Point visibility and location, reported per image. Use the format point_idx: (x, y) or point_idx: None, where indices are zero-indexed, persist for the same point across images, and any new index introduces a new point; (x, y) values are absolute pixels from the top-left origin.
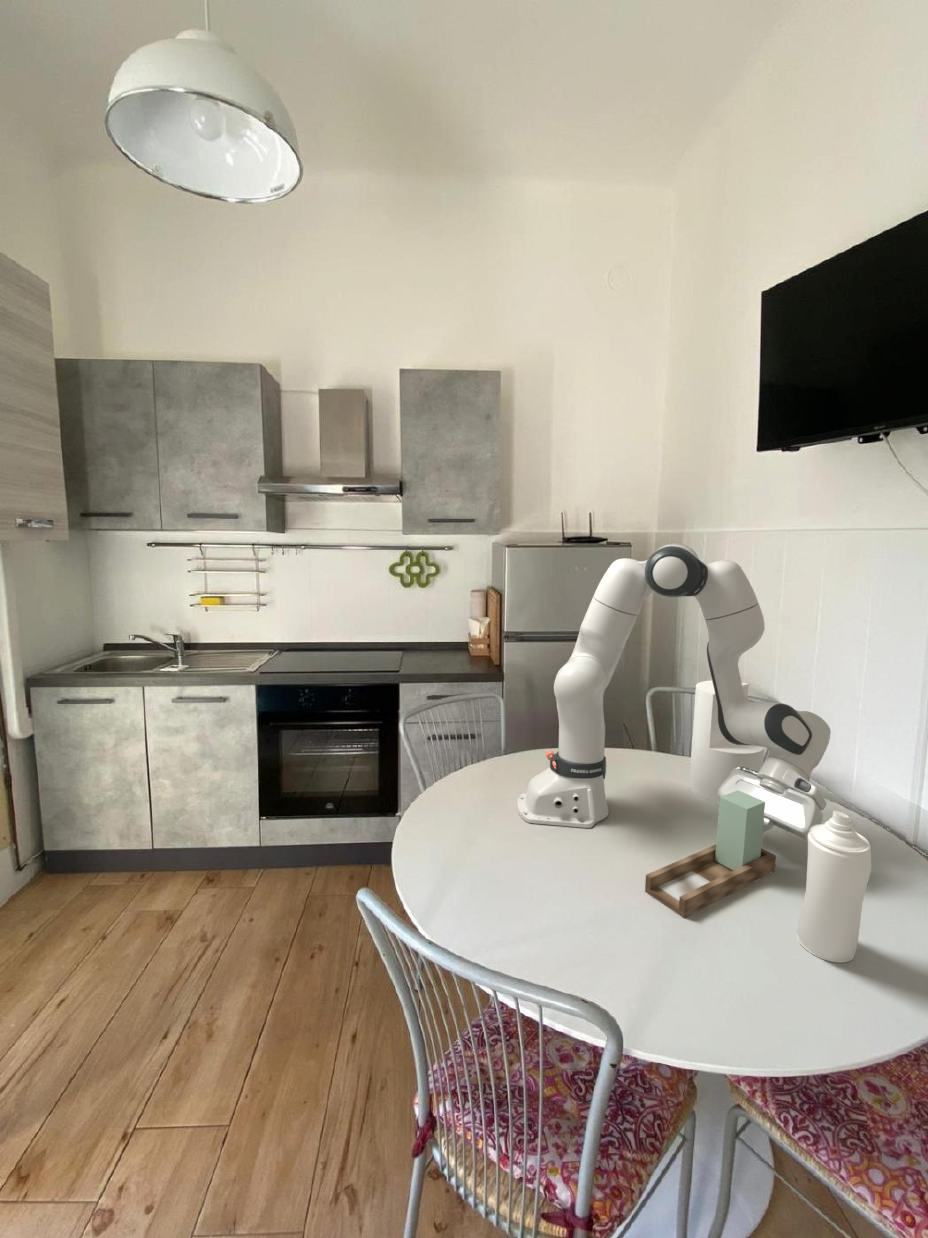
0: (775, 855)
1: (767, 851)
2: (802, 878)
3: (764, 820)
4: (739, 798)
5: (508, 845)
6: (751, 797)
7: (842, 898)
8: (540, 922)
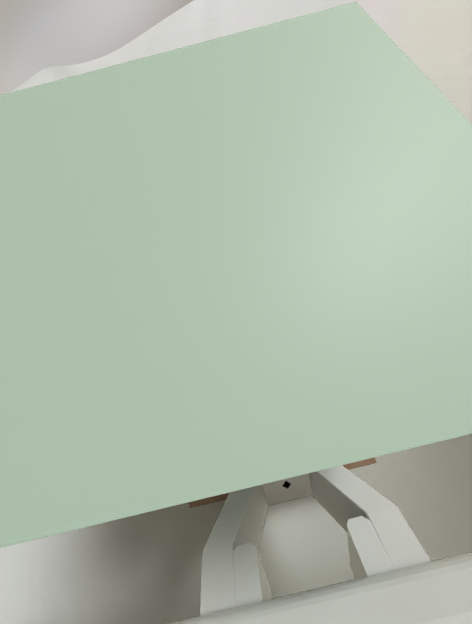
0: (190, 503)
1: (226, 496)
2: (141, 555)
3: (238, 574)
4: (249, 158)
5: (434, 21)
6: (200, 395)
7: None
8: (228, 33)
